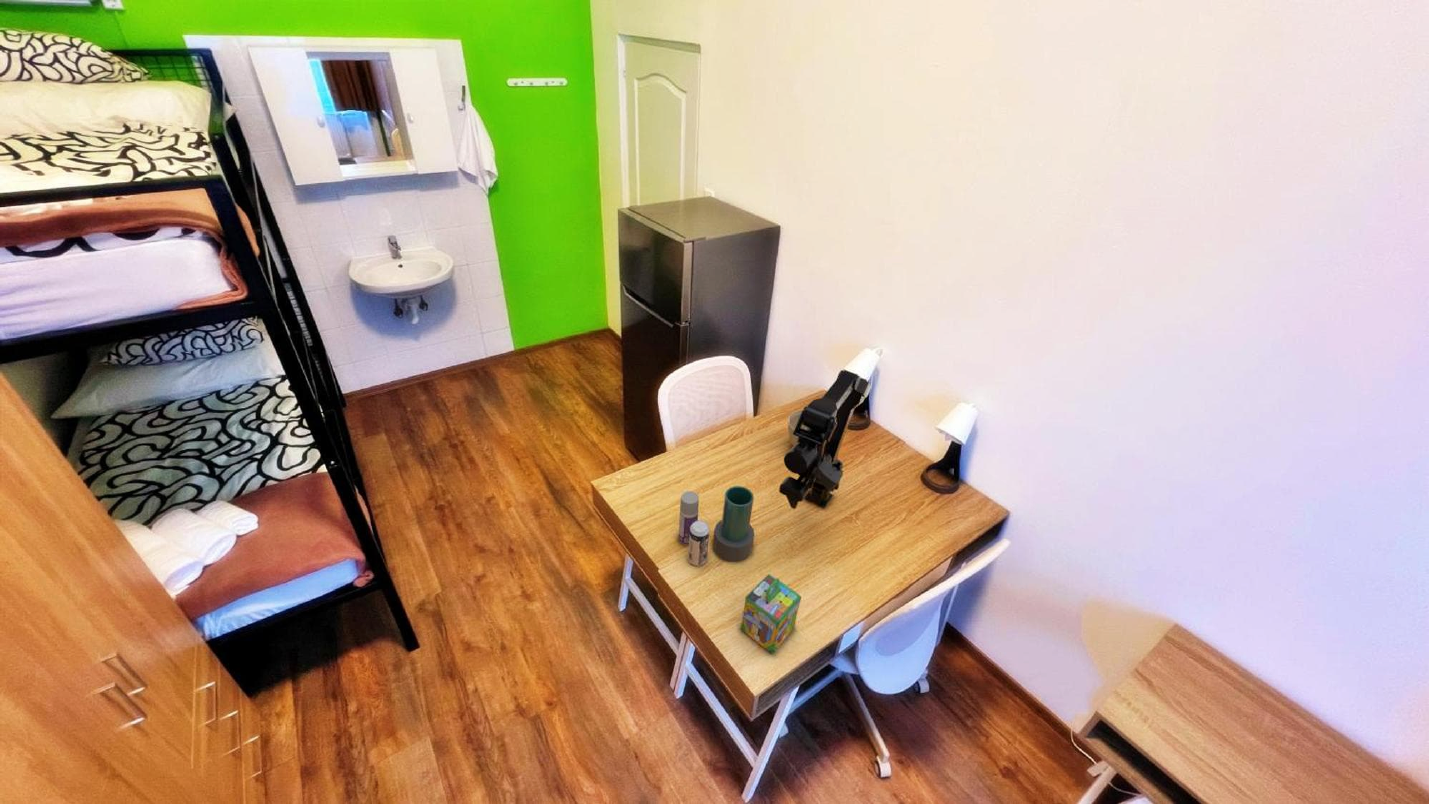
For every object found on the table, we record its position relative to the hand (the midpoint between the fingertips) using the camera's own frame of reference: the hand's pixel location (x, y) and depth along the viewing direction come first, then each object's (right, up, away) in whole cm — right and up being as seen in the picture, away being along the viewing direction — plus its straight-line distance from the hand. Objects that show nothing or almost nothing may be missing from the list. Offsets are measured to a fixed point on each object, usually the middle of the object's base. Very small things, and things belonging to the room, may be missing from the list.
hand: (800, 497), depth 144 cm
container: (-30, -11, +3) cm, 32 cm away
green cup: (-17, -8, -1) cm, 19 cm away
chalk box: (-10, -27, -18) cm, 34 cm away
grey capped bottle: (-27, -15, -3) cm, 31 cm away
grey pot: (-18, -13, +2) cm, 22 cm away
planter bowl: (+8, +9, +38) cm, 40 cm away
